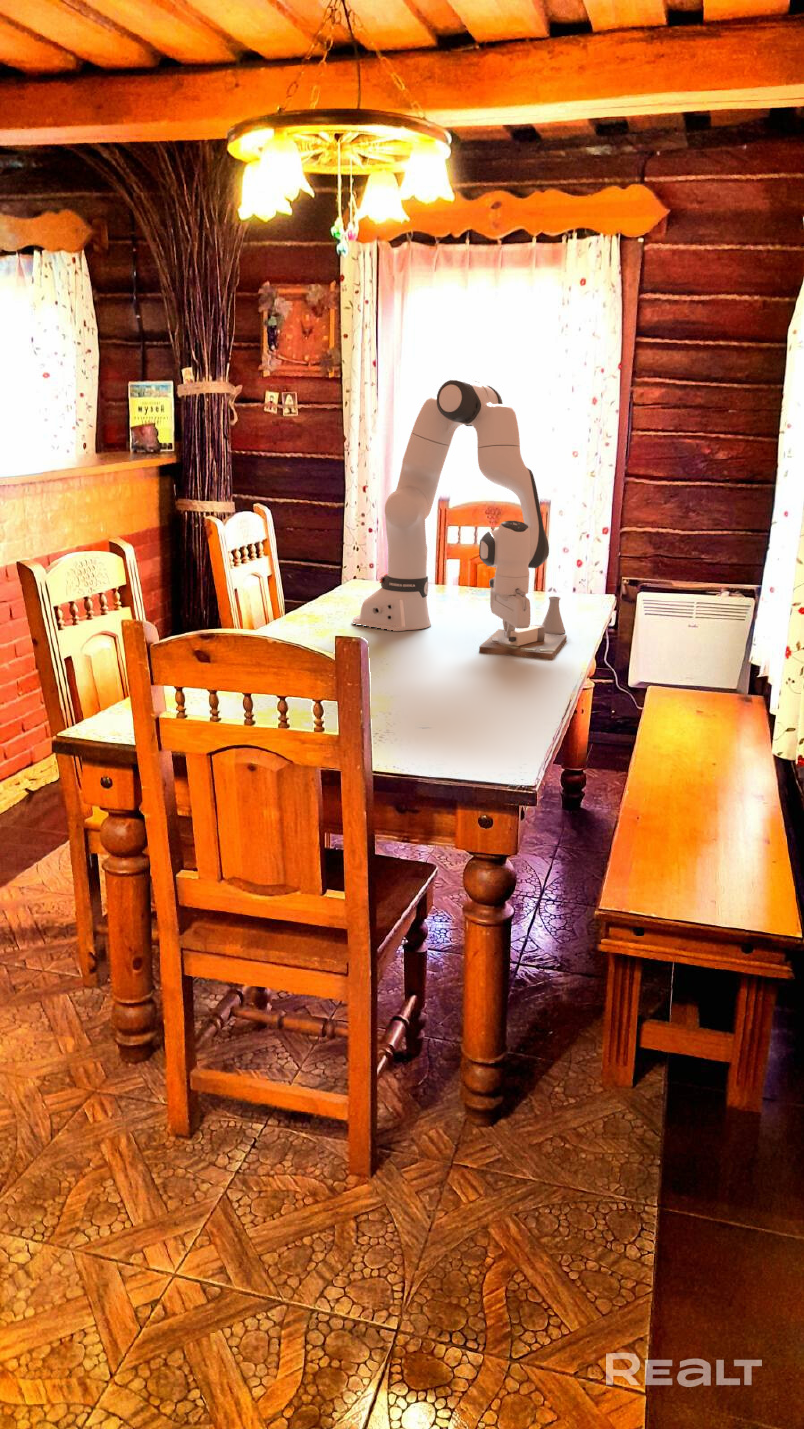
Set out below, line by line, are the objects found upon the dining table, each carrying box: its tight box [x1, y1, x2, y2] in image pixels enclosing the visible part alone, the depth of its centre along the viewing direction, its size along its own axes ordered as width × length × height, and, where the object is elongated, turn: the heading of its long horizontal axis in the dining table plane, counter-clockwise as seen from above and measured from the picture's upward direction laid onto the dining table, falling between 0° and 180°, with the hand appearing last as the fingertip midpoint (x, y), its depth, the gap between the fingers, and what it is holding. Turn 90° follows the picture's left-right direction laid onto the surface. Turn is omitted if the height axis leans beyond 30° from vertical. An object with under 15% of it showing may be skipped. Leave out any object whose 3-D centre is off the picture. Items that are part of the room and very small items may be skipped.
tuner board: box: [478, 628, 568, 660], centre depth 277 cm, size 19×22×2 cm
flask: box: [541, 595, 566, 635], centre depth 292 cm, size 7×7×10 cm
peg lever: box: [509, 624, 545, 646], centre depth 274 cm, size 14×4×4 cm, turn 137°
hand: (508, 637), depth 273 cm, fingers closed
